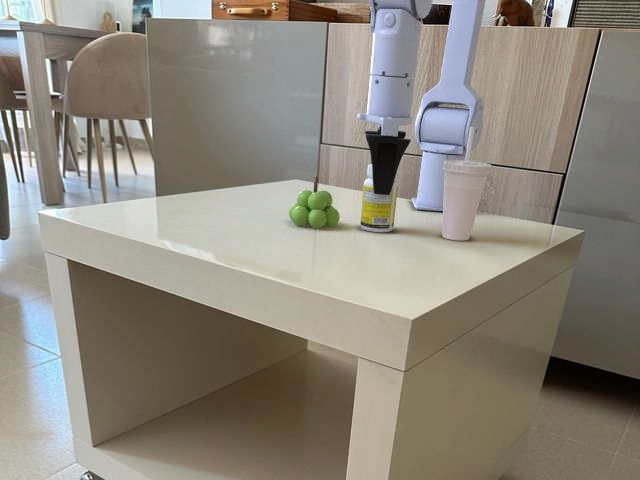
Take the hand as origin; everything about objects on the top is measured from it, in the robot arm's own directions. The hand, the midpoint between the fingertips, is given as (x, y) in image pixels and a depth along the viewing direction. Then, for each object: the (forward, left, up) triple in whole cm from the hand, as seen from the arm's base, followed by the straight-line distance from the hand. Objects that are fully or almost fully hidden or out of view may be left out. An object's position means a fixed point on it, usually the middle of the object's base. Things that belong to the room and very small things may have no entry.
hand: (380, 189), depth 86 cm
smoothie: (+2, +11, -6) cm, 12 cm away
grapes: (0, -9, -5) cm, 10 cm away
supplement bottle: (0, 0, -6) cm, 6 cm away
